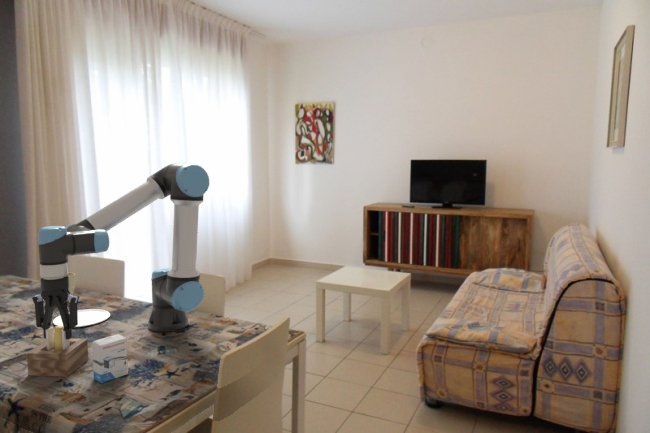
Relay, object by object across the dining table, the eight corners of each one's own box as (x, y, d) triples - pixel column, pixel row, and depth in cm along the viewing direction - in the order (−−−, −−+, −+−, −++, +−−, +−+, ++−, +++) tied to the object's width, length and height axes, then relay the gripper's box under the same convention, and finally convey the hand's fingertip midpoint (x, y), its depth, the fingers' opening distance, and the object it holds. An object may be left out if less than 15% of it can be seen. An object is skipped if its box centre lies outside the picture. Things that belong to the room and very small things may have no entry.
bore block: (88, 359, 150) (87, 338, 149) (67, 376, 138) (66, 354, 137) (52, 358, 150) (51, 337, 149) (28, 375, 138) (26, 353, 137)
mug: (54, 298, 212) (53, 273, 210) (78, 296, 215) (76, 272, 213) (47, 305, 201) (46, 279, 200) (72, 303, 204) (71, 278, 203)
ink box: (100, 384, 134) (99, 346, 132) (92, 378, 137) (91, 341, 135) (128, 373, 140) (127, 337, 139) (120, 368, 144) (119, 333, 142)
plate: (108, 326, 180) (108, 323, 180) (48, 332, 172) (48, 329, 172) (112, 309, 199) (111, 306, 199) (57, 314, 192) (57, 311, 191)
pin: (66, 361, 145) (66, 325, 144) (61, 365, 142) (61, 329, 141) (57, 361, 145) (57, 325, 144) (52, 365, 142) (52, 328, 141)
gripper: (88, 274, 144) (92, 344, 147) (34, 272, 144) (39, 342, 147) (75, 280, 136) (79, 354, 139) (18, 278, 137) (23, 352, 140)
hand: (58, 348), depth 143 cm, fingers open, 4 cm apart
